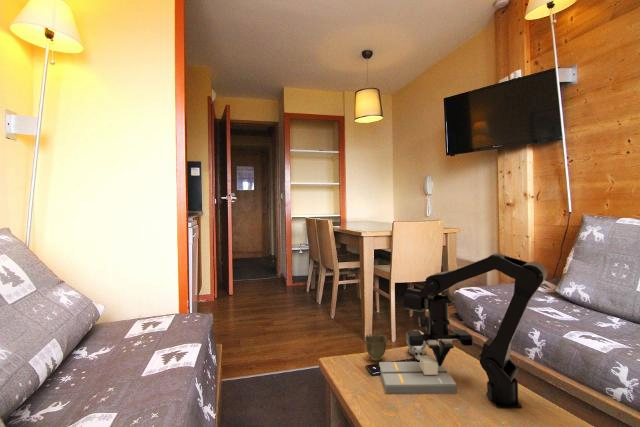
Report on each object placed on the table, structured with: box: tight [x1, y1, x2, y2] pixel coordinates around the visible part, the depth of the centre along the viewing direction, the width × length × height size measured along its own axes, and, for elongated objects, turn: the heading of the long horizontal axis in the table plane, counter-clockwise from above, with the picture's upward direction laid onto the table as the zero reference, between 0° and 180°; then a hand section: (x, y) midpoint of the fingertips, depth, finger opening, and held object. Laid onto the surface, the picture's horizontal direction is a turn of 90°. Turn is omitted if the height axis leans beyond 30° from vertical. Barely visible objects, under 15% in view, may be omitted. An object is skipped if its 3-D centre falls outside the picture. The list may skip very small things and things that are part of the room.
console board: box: [378, 361, 458, 395], centre depth 101 cm, size 20×14×3 cm
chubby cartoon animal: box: [405, 330, 428, 360], centre depth 117 cm, size 7×12×8 cm, turn 168°
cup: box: [364, 333, 388, 363], centre depth 115 cm, size 8×7×8 cm
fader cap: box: [420, 355, 438, 375], centre depth 100 cm, size 4×5×4 cm
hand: (439, 365), depth 100 cm, fingers closed
